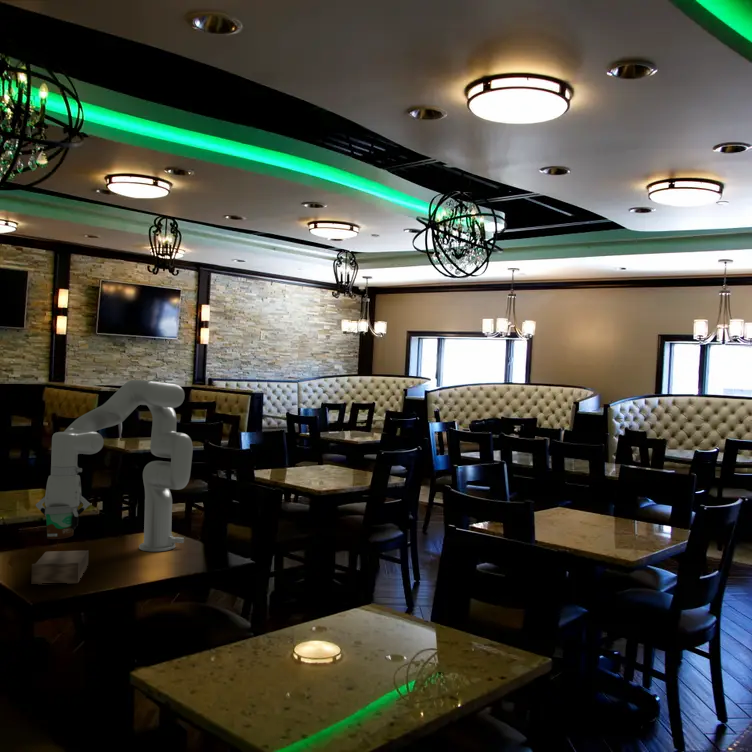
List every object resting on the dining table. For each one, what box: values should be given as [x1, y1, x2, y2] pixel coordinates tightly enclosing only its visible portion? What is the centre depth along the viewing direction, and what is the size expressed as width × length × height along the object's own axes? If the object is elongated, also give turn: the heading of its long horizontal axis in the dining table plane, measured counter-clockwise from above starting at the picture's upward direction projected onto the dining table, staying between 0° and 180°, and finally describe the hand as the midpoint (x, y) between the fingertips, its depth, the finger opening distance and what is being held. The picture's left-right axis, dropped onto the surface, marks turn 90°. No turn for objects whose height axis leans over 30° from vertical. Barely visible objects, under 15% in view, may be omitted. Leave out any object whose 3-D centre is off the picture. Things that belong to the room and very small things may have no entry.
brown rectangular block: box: [30, 550, 90, 585], centre depth 228 cm, size 13×20×6 cm, turn 13°
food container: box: [45, 506, 79, 540], centre depth 229 cm, size 12×6×10 cm, turn 170°
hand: (62, 528), depth 228 cm, fingers closed on food container, 6 cm apart
